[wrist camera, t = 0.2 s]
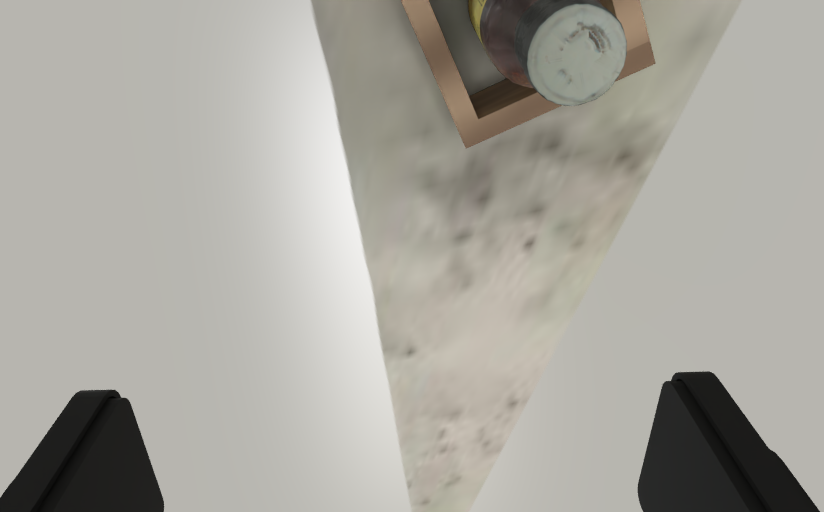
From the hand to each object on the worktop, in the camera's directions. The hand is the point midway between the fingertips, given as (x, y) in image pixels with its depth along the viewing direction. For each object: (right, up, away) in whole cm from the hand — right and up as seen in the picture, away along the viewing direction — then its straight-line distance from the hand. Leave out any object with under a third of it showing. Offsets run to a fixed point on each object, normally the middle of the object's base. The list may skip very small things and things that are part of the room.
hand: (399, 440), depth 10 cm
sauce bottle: (+7, +21, +30) cm, 37 cm away
